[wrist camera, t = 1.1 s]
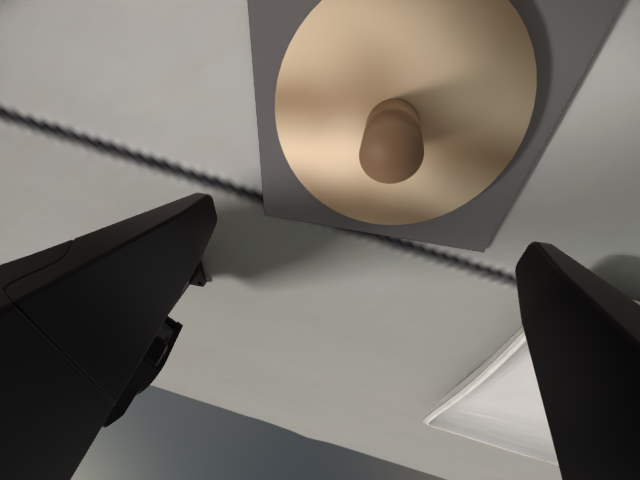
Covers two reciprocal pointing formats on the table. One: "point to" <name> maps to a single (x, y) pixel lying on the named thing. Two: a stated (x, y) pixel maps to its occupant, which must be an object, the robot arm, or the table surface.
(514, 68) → the lid
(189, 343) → the table surface
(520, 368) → the square plate
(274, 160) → the mat
